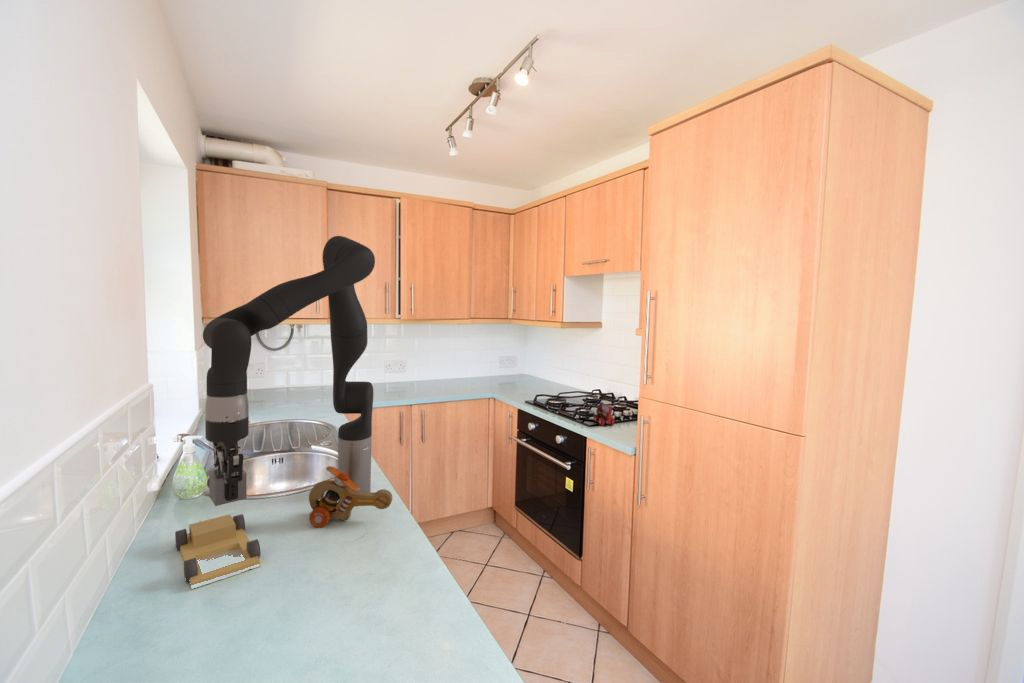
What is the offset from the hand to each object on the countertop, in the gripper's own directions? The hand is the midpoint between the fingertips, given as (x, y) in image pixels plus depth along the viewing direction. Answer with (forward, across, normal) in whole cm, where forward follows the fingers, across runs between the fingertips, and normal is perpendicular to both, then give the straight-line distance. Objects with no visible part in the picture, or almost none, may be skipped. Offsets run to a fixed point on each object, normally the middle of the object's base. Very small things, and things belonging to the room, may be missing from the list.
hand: (227, 494), depth 92 cm
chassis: (+16, -7, -1) cm, 17 cm away
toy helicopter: (+16, -3, +27) cm, 32 cm away
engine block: (+1, 0, 0) cm, 1 cm away
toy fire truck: (+14, -13, +162) cm, 163 cm away
